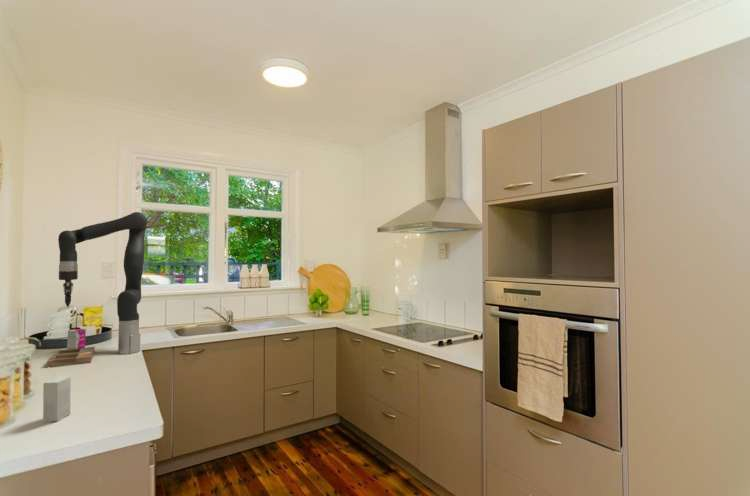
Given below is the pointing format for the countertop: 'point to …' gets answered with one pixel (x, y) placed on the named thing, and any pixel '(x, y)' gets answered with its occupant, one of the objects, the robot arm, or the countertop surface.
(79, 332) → the supplement box
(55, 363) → the socket block
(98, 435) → the countertop surface
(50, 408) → the skincare box
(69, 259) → the robot arm
